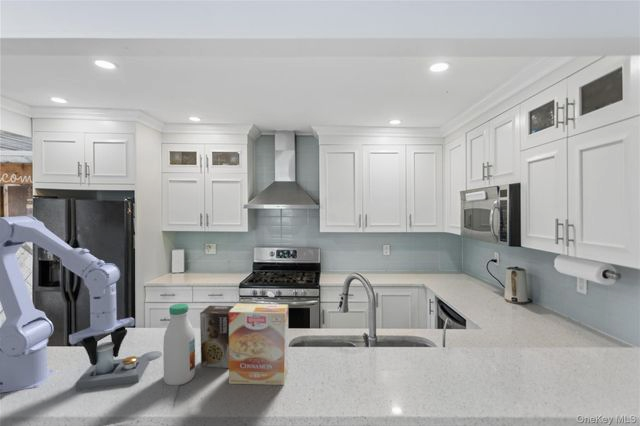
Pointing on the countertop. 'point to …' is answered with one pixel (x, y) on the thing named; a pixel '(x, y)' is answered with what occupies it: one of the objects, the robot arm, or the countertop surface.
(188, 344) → the milk bottle
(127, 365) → the plunger
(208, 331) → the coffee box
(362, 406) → the countertop surface
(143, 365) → the grey flat block
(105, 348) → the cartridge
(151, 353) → the pad
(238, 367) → the coffeecake box
